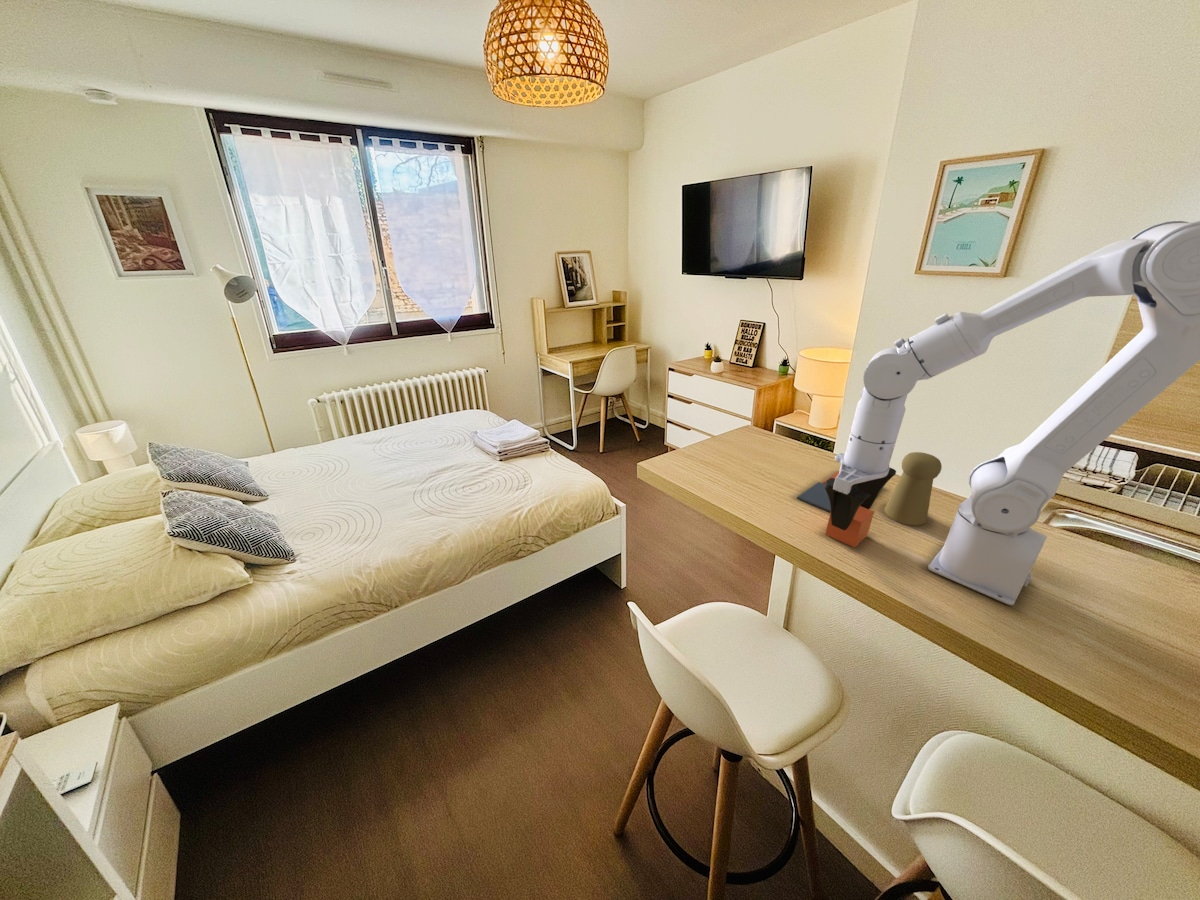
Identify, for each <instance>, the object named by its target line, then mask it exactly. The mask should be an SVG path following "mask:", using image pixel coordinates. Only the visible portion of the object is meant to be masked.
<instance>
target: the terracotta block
mask: <svg viewBox="0 0 1200 900" xmlns="http://www.w3.org/2000/svg"><path fill="white" fill-rule="evenodd" d="M874 514H875V511H874V510H873V509H867V508H864V507H861V506H860V507H859V508H858V510H857V512H856V513H855V516H854V518H853V520H852V522H851V524H850V525H849V527H848V528H847V529H846V530H842V529H840V528H838V527H835V526H833V525H832V524H831V512H829V517H828V521H827V525H826V528H825V532H824V535H826V536H828V537H830V538H832V539H834V540H836V541H839V542H841V543H843V544H846V545H848V546H850V547H852V548H856V547H857V546H858V545H859V544H860V543H861V542H863V540H864V539H865V538H866V537H868V534H869V531H870V528H871V524H872V520H873V517H874Z"/></svg>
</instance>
